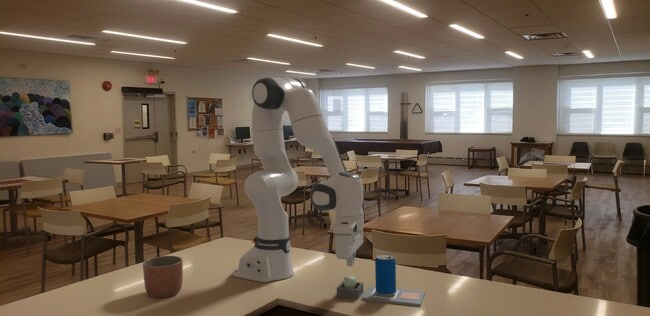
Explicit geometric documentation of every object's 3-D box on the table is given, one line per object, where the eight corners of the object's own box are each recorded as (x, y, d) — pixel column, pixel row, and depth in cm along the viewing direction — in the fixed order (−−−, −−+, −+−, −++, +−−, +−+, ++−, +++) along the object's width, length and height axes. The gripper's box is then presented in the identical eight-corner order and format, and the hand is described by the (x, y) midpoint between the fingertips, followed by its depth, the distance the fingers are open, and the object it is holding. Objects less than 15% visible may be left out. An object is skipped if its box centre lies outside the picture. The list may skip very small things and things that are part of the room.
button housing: (336, 296, 152) (336, 287, 151) (342, 289, 158) (342, 280, 158) (357, 299, 149) (357, 290, 149) (363, 291, 156) (363, 282, 156)
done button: (342, 289, 152) (342, 279, 152) (346, 285, 156) (345, 275, 156) (354, 291, 151) (354, 280, 151) (357, 286, 155) (357, 276, 155)
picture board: (362, 299, 149) (362, 297, 149) (370, 287, 159) (370, 285, 159) (420, 306, 143) (420, 303, 143) (425, 293, 154) (425, 290, 154)
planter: (191, 288, 161) (190, 257, 160) (167, 302, 149) (166, 268, 148) (160, 285, 165) (159, 254, 164) (135, 298, 153) (134, 264, 152)
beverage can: (395, 297, 148) (395, 259, 147) (375, 296, 149) (374, 259, 149) (396, 290, 155) (395, 253, 154) (376, 289, 156) (375, 253, 155)
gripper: (349, 216, 163) (350, 255, 164) (330, 229, 143) (331, 274, 144) (367, 216, 161) (368, 256, 162) (351, 230, 141) (351, 275, 142)
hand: (350, 265), depth 153 cm, fingers closed
